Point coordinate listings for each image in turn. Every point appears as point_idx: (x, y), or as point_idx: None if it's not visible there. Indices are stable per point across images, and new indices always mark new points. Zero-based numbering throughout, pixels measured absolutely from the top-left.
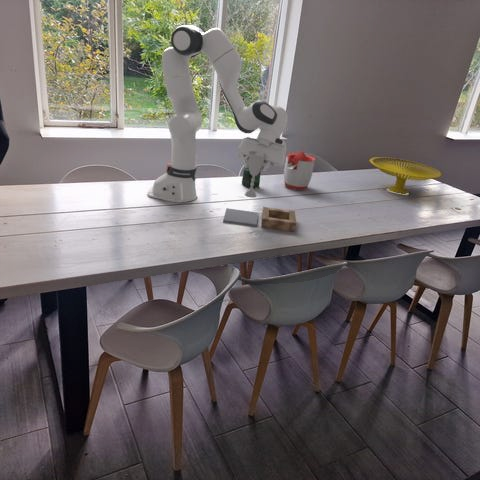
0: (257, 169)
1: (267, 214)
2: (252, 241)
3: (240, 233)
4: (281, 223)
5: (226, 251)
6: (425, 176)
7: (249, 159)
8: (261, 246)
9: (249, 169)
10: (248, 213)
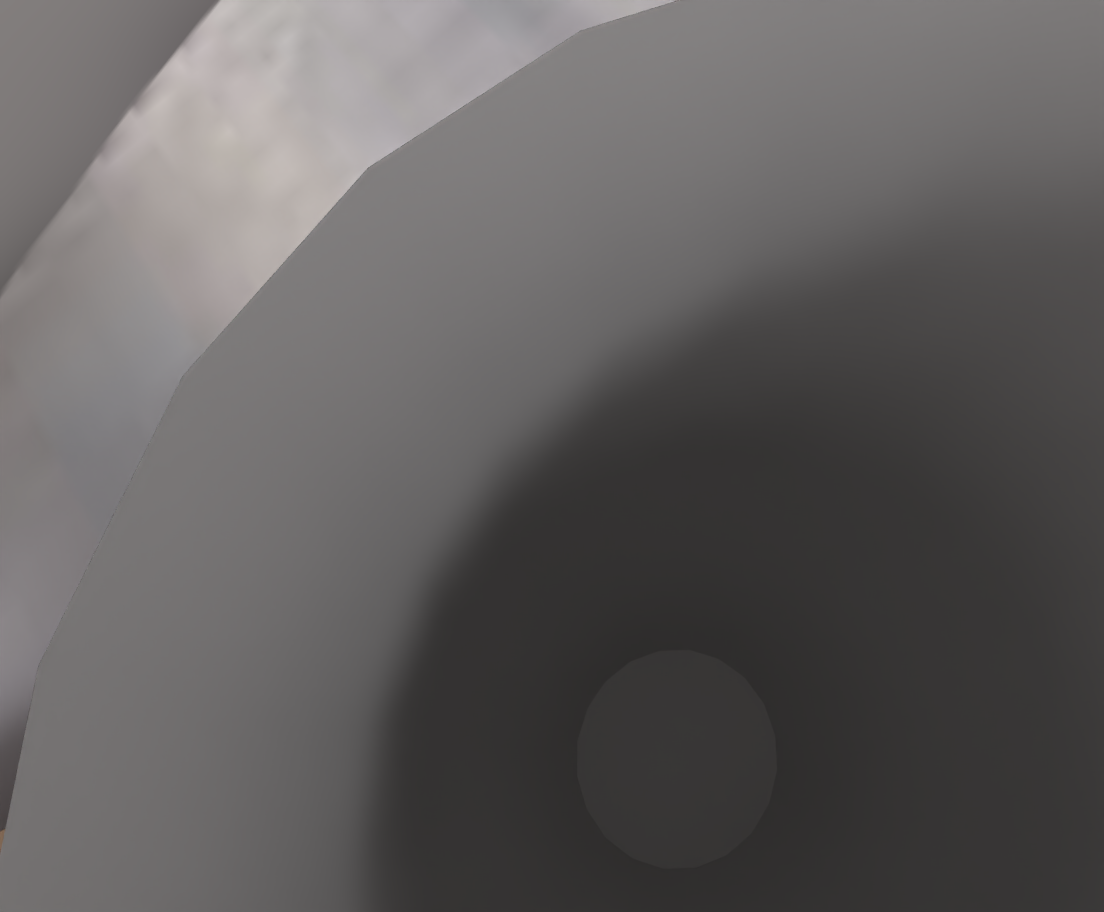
0: (499, 615)
1: None
2: (208, 299)
3: None
4: None
5: (277, 7)
6: None
7: (1017, 377)
8: (87, 277)
9: (793, 550)
10: None
